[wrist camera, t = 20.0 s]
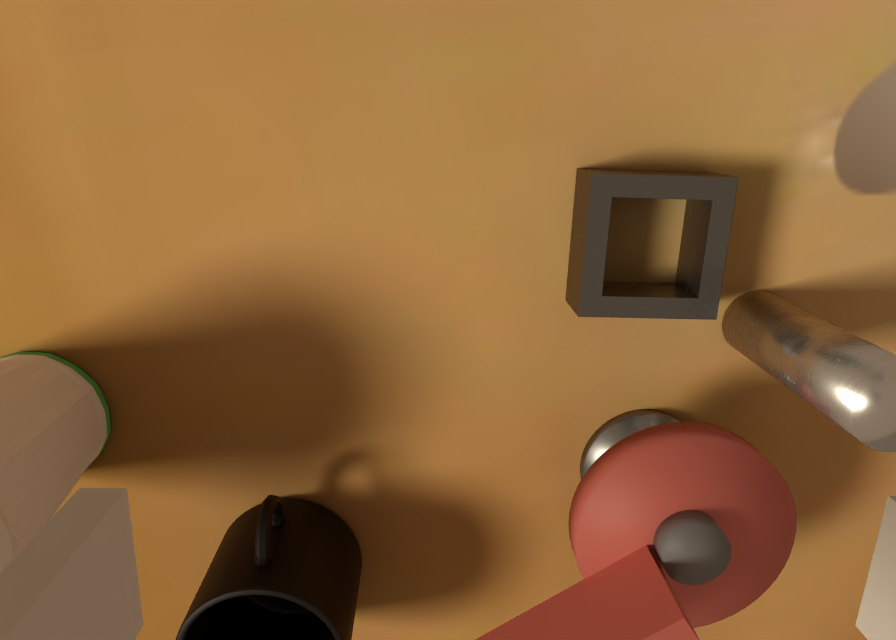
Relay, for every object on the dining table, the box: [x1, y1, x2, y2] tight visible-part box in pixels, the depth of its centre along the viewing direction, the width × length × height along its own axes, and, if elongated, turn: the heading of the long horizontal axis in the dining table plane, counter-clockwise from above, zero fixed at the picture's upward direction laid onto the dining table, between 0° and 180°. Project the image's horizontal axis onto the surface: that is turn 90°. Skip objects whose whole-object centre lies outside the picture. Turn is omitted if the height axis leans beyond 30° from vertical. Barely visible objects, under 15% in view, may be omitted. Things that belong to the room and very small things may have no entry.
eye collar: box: [566, 168, 738, 320], centre depth 38 cm, size 8×8×4 cm
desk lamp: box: [476, 422, 796, 640], centre depth 35 cm, size 12×19×8 cm, turn 123°
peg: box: [722, 290, 896, 452], centre depth 35 cm, size 4×4×13 cm
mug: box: [176, 495, 362, 640], centre depth 40 cm, size 9×12×9 cm
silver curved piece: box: [580, 409, 683, 480], centre depth 41 cm, size 8×8×6 cm
